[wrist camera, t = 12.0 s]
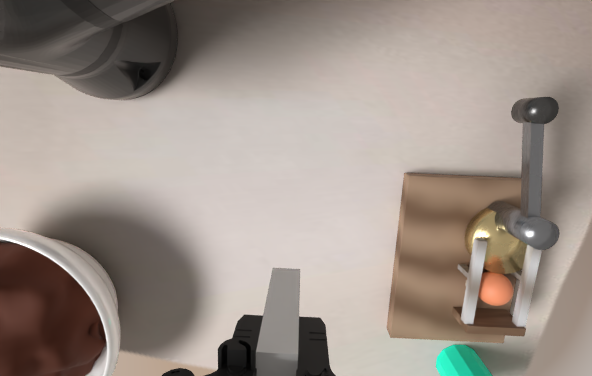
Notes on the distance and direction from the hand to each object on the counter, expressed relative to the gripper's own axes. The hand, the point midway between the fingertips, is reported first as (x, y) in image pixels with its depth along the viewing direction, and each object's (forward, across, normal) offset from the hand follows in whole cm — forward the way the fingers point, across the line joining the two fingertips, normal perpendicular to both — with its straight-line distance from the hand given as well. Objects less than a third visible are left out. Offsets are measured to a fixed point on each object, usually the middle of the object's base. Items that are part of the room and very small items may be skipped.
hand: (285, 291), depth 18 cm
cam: (+22, +25, +2) cm, 33 cm away
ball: (+22, +24, -10) cm, 35 cm away
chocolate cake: (+25, -32, -16) cm, 43 cm away
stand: (+24, +21, -8) cm, 33 cm away
